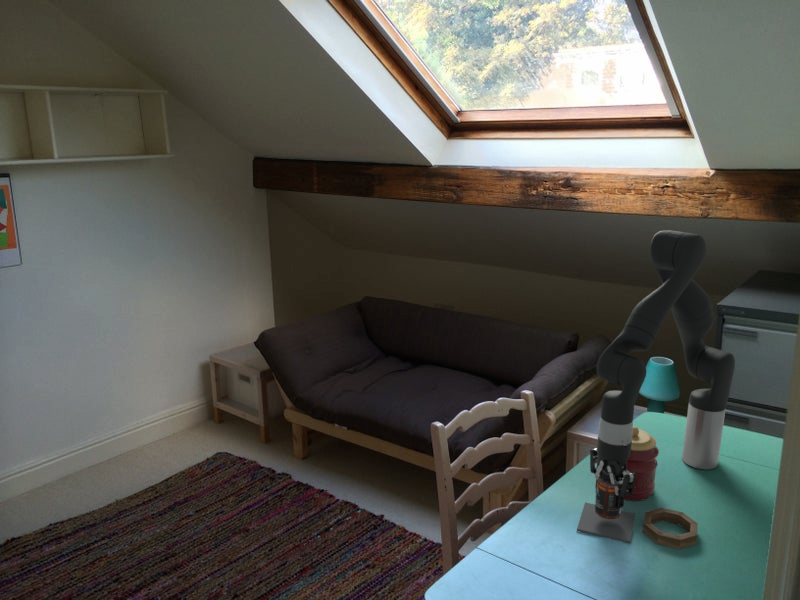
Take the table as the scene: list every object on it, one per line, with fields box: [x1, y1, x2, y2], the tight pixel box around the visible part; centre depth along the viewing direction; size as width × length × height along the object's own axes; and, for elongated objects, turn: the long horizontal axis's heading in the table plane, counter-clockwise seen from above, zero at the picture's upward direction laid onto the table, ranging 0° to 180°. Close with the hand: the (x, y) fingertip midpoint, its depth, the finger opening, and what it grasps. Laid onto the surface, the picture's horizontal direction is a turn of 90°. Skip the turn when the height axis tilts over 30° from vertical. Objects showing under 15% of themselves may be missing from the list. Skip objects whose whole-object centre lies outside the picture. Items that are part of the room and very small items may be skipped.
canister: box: [620, 425, 660, 502], centre depth 178 cm, size 13×13×18 cm
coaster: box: [576, 501, 636, 544], centre depth 165 cm, size 12×12×1 cm
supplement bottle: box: [594, 469, 622, 519], centre depth 163 cm, size 6×6×11 cm
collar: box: [642, 507, 699, 550], centre depth 162 cm, size 12×12×2 cm
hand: (608, 499), depth 164 cm, fingers closed on supplement bottle, 6 cm apart
